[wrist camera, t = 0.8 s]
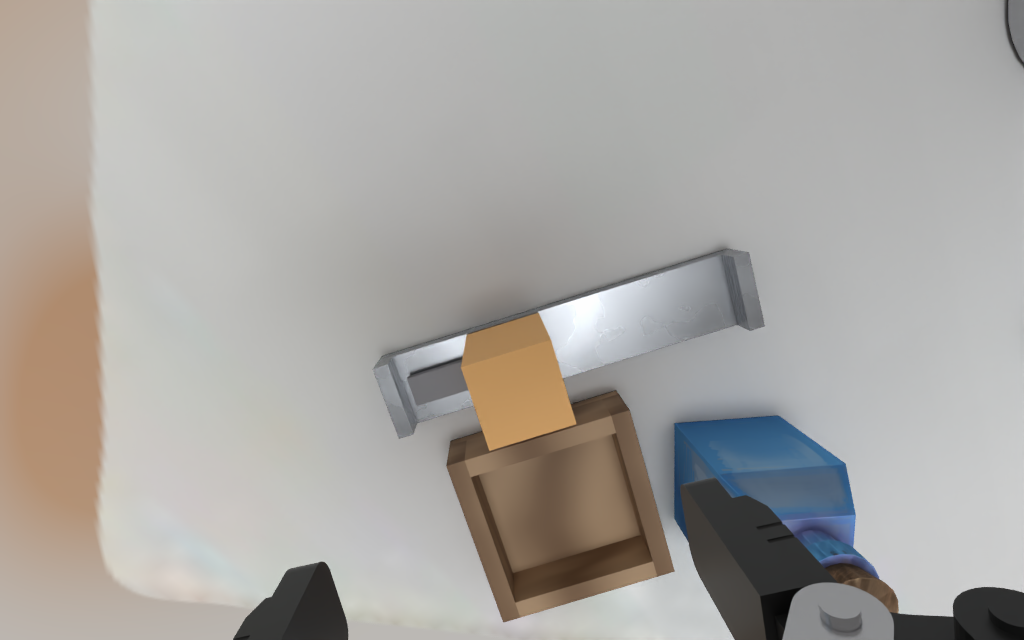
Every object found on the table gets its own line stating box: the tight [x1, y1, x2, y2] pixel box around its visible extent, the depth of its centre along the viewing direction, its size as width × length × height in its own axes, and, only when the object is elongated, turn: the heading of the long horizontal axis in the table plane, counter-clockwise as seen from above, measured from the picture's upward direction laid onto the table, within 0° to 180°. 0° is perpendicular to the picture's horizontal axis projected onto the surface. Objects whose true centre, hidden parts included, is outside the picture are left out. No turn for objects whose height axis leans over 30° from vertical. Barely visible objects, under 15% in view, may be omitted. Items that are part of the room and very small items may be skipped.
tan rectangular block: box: [407, 313, 576, 451], centre depth 26 cm, size 8×4×6 cm, turn 107°
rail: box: [373, 249, 765, 438], centre depth 29 cm, size 20×4×2 cm, turn 107°
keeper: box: [447, 391, 674, 622], centre depth 31 cm, size 10×10×3 cm
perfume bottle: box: [674, 416, 899, 613], centre depth 27 cm, size 6×6×12 cm
